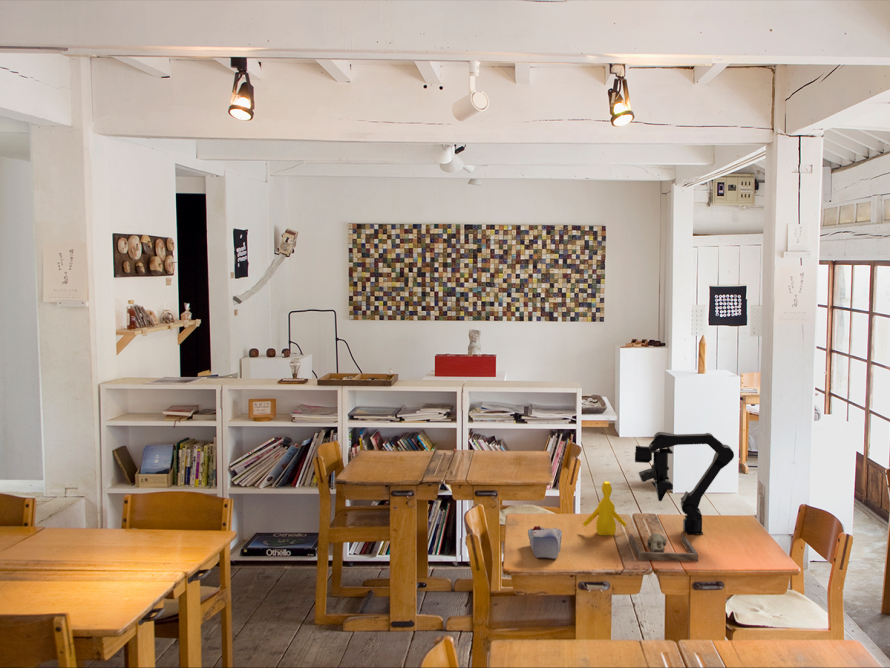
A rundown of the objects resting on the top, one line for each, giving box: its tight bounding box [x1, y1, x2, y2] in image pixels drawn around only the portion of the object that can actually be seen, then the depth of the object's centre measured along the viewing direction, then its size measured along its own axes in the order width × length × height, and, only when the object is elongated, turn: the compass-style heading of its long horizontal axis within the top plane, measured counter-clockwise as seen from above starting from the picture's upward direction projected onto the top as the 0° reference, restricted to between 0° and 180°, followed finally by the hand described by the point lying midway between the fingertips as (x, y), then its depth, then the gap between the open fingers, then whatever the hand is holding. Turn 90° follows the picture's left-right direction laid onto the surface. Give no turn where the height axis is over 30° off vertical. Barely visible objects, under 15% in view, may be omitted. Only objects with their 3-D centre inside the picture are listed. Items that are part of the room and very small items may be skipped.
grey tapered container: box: [527, 525, 563, 560], centre depth 283 cm, size 13×11×20 cm
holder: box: [628, 533, 699, 562], centre depth 284 cm, size 21×21×2 cm
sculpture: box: [646, 532, 668, 553], centre depth 284 cm, size 7×5×15 cm
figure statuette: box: [582, 481, 627, 536], centre depth 302 cm, size 18×8×22 cm, turn 88°
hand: (659, 500), depth 307 cm, fingers closed
